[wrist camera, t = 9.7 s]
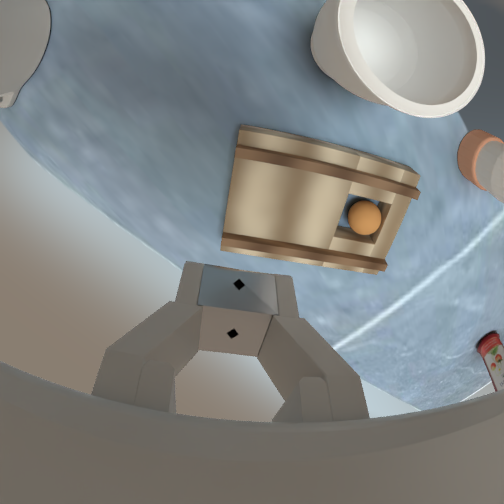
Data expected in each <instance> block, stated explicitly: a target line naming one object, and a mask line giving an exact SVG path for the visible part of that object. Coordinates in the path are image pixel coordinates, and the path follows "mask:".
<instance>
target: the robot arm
mask: <svg viewBox="0 0 504 504" xmlns="http://www.w3.org/2000/svg"><path fill="white" fill-rule="evenodd" d="M50 22H51V20H50V11H49V7H48V5H47V3H46V1H45V0H0V107H1V108H8V107H11V106H12V105H13V104H14V102H15V100H16V97H17V95H18V93H19V90H20V88H21V87H22V86H23V84H24V83H25V82H26V81H27V80H28V79H29V78H30V77H31V75H32V74H33V73H34V71H35V70H36V68H37V66H38V64H39V63H40V61H41V59H42V56H43V54H44V51H45V49H46V46H47V42H48V38H49V33H50ZM198 350H203V351H213V352H223V353H231V354H239V355H247V356H255V357H257V359H258V360H259V362H260V363H261V365H262V366H263V368H264V370H265V371H266V373H267V374H268V376H269V377H270V379H271V380H272V382H273V383H274V385H275V387H276V388H277V390H278V391H279V393H280V394H281V396H282V397H283V399H284V400H285V403H284V404H283V406H282V407H281V408H280V410H279V411H278V412H277V414H276V415H275V417H274V418H273V419H272V422H252V421H236V420H224V419H214V418H204V417H196V416H189V415H183V414H176V400H175V377H176V376H177V375H178V373H179V372H180V371H181V370H182V369H183V368H184V367H185V366H186V365H187V363H188V362H189V361H190V360H191V359H192V358H193V357H194V356H195V354H196V353H197V352H198ZM0 504H504V389H503V390H500V391H497V392H494V393H491V394H487V395H484V396H481V397H477V398H474V399H470V400H467V401H463V402H459V403H455V404H451V405H447V406H442V407H438V408H433V409H428V410H423V411H418V412H412V413H407V414H401V415H394V416H386V417H378V418H369V413H368V409H367V405H366V400H365V396H364V392H363V388H362V384H361V380H360V376H359V375H358V374H357V373H356V372H355V371H354V370H353V369H352V368H351V367H350V366H349V365H348V364H347V362H346V361H345V360H344V359H343V358H342V357H341V356H340V355H339V354H338V353H337V352H336V351H335V350H334V349H333V348H332V347H331V346H330V345H329V344H328V343H327V342H326V341H325V339H324V338H323V337H322V336H321V335H320V334H319V333H318V332H317V331H316V330H315V329H314V328H313V327H312V326H311V325H310V324H309V323H308V322H307V321H306V320H305V319H304V318H299V313H298V307H297V302H296V296H295V290H294V285H293V279H292V277H291V276H288V275H279V274H267V273H260V272H252V271H245V270H239V269H233V268H227V267H221V266H215V265H209V264H202V263H196V262H190V261H186V263H185V264H184V268H183V272H182V276H181V280H180V284H179V288H178V292H177V296H176V300H175V302H172V301H169V302H168V303H166V304H165V305H164V306H162V307H161V308H160V309H158V310H157V311H156V312H154V313H153V314H152V315H150V316H149V317H148V318H146V319H145V320H144V321H143V322H141V323H140V324H139V325H137V326H136V327H134V328H133V329H132V330H131V331H129V332H128V333H126V334H125V335H124V336H123V337H121V338H120V339H119V340H117V341H116V342H115V343H113V344H112V345H111V346H109V347H108V348H107V349H106V351H105V354H104V357H103V360H102V363H101V366H100V369H99V372H98V375H97V378H96V381H95V384H94V387H93V391H92V394H91V395H90V394H87V393H83V392H80V391H77V390H74V389H71V388H67V387H65V386H61V385H59V384H56V383H53V382H50V381H47V380H45V379H42V378H39V377H37V376H34V375H32V374H29V373H27V372H24V371H22V370H19V369H17V368H15V367H13V366H10V365H8V364H6V363H4V362H1V361H0Z"/></svg>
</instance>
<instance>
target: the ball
mask: <svg viewBox="0 0 504 504" xmlns="http://www.w3.org/2000/svg"><path fill="white" fill-rule="evenodd" d="M348 222H349V225H350V227H351V228H352V229H353V230H354V231H355V232H356V233H358V234H361V235H369V234H372V233H374V232H375V231H376V230H377V229H378V228H379V226H380V223H381V213H380V210H379V209H378V207H377V206H376V205H375V204H374V203H372V202H370V201H365V200H363V201H359V202H356V203H355V204H354V205H352V207H351V208H350V210H349V213H348Z"/></svg>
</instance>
